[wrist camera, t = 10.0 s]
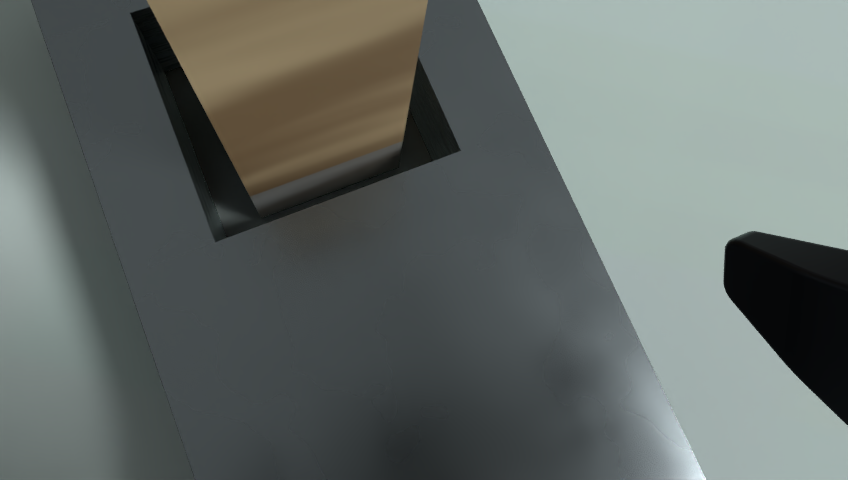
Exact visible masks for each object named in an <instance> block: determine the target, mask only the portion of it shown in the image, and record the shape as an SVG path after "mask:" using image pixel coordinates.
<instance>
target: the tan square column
mask: <svg viewBox="0 0 848 480" xmlns="http://www.w3.org/2000/svg"><path fill="white" fill-rule="evenodd" d="M147 2H148V4H149V6H150V8H151V9H152V11H153V13H154V15H155V17H156V19H157V21H158V23H159V25H160V27H161V28H162V30H163V32H164V34H165V36H166V38H167V40H168V42H169V44H170V46H171V47H172V49H173V51H174V53H175V55H176V57H177V59H178V61H179V63H180V65H181V66H182V68H183V70H184V72H185V74H186V76H187V78H188V80H189V82H190V84H191V85H192V87H193V89H194V91H195V93H196V95H197V97H198V99H199V101H200V103H201V104H202V106H203V108H204V110H205V112H206V114H207V116H208V118H209V120H210V122H211V123H212V125H213V127H214V129H215V131H216V133H217V135H218V137H219V139H220V141H221V142H222V144H223V146H224V148H225V150H226V152H227V154H228V156H229V158H230V160H231V161H232V163H233V165H234V167H235V169H236V171H237V173H238V175H239V177H240V179H241V180H242V182H243V184H244V186H245V188H246V190H247V192H248V194H249V196H250V198H251V199H252V201H253V203H254V205H255V207H256V209H257V211H258V213H259V215H260V217H261V218H263V217H266V216H268V215H271V214H274V213H277V212H279V211H282V210H285V209H287V208H290V207H293V206H295V205H298V204H301V203H303V202H306V201H309V200H312V199H314V198H317V197H320V196H322V195H325V194H328V193H330V192H333V191H336V190H339V189H341V188H344V187H347V186H349V185H352V184H355V183H357V182H360V181H363V180H365V179H368V178H371V177H374V176H376V175H379V174H382V173H384V172H387V171H390V170H392V169H395V168H398V166H399V160H400V155H401V149H402V143H403V138H404V132H405V127H406V121H407V115H408V110H409V104H410V98H411V93H412V87H413V82H414V76H415V70H416V65H417V59H418V53H419V48H420V42H421V37H422V31H423V25H424V20H425V14H426V8H427V3H428V0H147Z"/></svg>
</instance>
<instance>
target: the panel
mask: <svg viewBox="0 0 848 480" xmlns="http://www.w3.org/2000/svg"><path fill="white" fill-rule="evenodd" d="M31 1H32V4H33V7H34V10H35V13H36V16H37V19H38V22H39V25H40V28H41V31H42V34H43V36H44V39H45V42H46V45H47V48H48V51H49V54H50V57H51V60H52V63H53V66H54V69H55V71H56V74H57V77H58V80H59V83H60V86H61V89H62V92H63V95H64V98H65V101H66V104H67V107H68V109H69V112H70V115H71V118H72V121H73V124H74V127H75V130H76V133H77V136H78V139H79V142H80V145H81V147H82V150H83V153H84V156H85V159H86V162H87V165H88V168H89V171H90V174H91V177H92V180H93V183H94V185H95V188H96V191H97V194H98V197H99V200H100V203H101V206H102V209H103V212H104V215H105V218H106V221H107V223H108V226H109V229H110V232H111V235H112V238H113V241H114V244H115V247H116V250H117V253H118V256H119V258H120V261H121V264H122V267H123V270H124V273H125V276H126V279H127V282H128V285H129V288H130V291H131V294H132V296H133V299H134V302H135V305H136V308H137V311H138V314H139V317H140V320H141V323H142V326H143V329H144V332H145V334H146V337H147V340H148V343H149V346H150V349H151V352H152V355H153V358H154V361H155V364H156V367H157V370H158V372H159V375H160V378H161V381H162V384H163V387H164V390H165V393H166V396H167V399H168V402H169V405H170V408H171V410H172V413H173V416H174V419H175V422H176V425H177V428H178V431H179V434H180V437H181V440H182V443H183V445H184V448H185V451H186V454H187V457H188V460H189V463H190V466H191V469H192V472H193V475H194V478H195V480H706V478H705V476H704V474H703V472H702V470H701V468H700V466H699V464H698V461H697V459H696V457H695V455H694V453H693V451H692V449H691V447H690V445H689V443H688V440H687V438H686V436H685V434H684V432H683V430H682V428H681V426H680V424H679V422H678V420H677V417H676V415H675V413H674V411H673V409H672V407H671V405H670V403H669V401H668V399H667V396H666V394H665V392H664V390H663V388H662V386H661V384H660V382H659V380H658V378H657V376H656V373H655V371H654V369H653V367H652V365H651V363H650V361H649V359H648V357H647V355H646V353H645V350H644V348H643V346H642V344H641V342H640V340H639V338H638V336H637V334H636V332H635V329H634V327H633V325H632V323H631V321H630V319H629V317H628V315H627V313H626V311H625V309H624V306H623V304H622V302H621V300H620V298H619V296H618V294H617V292H616V290H615V288H614V285H613V283H612V281H611V279H610V277H609V275H608V273H607V271H606V269H605V267H604V265H603V262H602V260H601V258H600V256H599V254H598V252H597V250H596V248H595V246H594V244H593V242H592V239H591V237H590V235H589V233H588V231H587V229H586V227H585V225H584V223H583V221H582V218H581V216H580V214H579V212H578V210H577V208H576V206H575V204H574V202H573V200H572V198H571V195H570V193H569V191H568V189H567V187H566V185H565V183H564V181H563V179H562V177H561V174H560V172H559V170H558V168H557V166H556V164H555V162H554V160H553V158H552V156H551V154H550V151H549V149H548V147H547V145H546V143H545V141H544V139H543V137H542V135H541V133H540V131H539V128H538V126H537V124H536V122H535V120H534V118H533V116H532V114H531V112H530V110H529V107H528V105H527V103H526V101H525V99H524V97H523V95H522V93H521V91H520V89H519V87H518V84H517V82H516V80H515V78H514V76H513V74H512V72H511V70H510V68H509V66H508V63H507V61H506V59H505V57H504V55H503V53H502V51H501V49H500V47H499V45H498V43H497V40H496V38H495V36H494V34H493V32H492V30H491V28H490V26H489V24H488V22H487V20H486V17H485V15H484V13H483V11H482V9H481V7H480V5H479V3H478V1H477V0H428V3H427V8H426V14H425V20H424V25H423V31H422V37H421V42H420V48H419V53H418V59H417V65H416V70H415V76H414V82H413V87H412V93H411V98H410V104H409V109H410V111H411V113H412V115H413V118H414V120H415V122H416V124H417V127H418V129H419V131H420V133H421V136H422V138H423V140H424V142H425V145H426V147H427V149H428V152H429V154H430V156H431V158H432V162H429V163H427V164H424V165H421V166H419V167H416V168H413V169H411V170H408V171H405V172H403V173H400V174H397V175H395V176H392V177H389V178H386V179H384V180H381V181H378V182H376V183H373V184H370V185H368V186H365V187H362V188H360V189H357V190H354V191H352V192H349V193H346V194H343V195H341V196H338V197H335V198H333V199H330V200H327V201H325V202H322V203H319V204H317V205H314V206H311V207H309V208H306V209H303V210H301V211H298V212H295V213H292V214H290V215H287V216H284V217H282V218H279V219H276V220H274V221H271V222H268V223H266V224H263V225H260V226H258V227H255V228H252V229H249V230H247V231H244V232H241V233H239V234H236V235H233V236H231V237H228V238H227V237H226V234H225V232H224V229H223V226H222V224H221V221H220V218H219V216H218V213H217V210H216V208H215V205H214V202H213V200H212V197H211V194H210V192H209V189H208V186H207V184H206V181H205V178H204V176H203V173H202V170H201V168H200V165H199V162H198V160H197V157H196V154H195V152H194V149H193V146H192V144H191V141H190V138H189V135H188V133H187V130H186V127H185V125H184V122H183V119H182V117H181V114H180V111H179V109H178V106H177V103H176V101H175V98H174V95H173V93H172V90H171V87H170V85H169V82H168V79H167V77H166V74H165V72H166V71H169V70H172V69H175V68H179V67H182V66H181V65H180V63H179V61H178V59H177V57H176V55H175V53H174V51H173V49H172V47H171V46H170V44H169V42H168V40H167V38H166V36H165V34H164V32H163V30H162V28H161V27H160V25H159V23H158V21H157V19H156V17H155V15H154V13H153V11H152V9H151V8H150V6H149V4H148V2H147V0H31Z"/></svg>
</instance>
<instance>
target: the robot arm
mask: <svg viewBox="0 0 848 480" xmlns="http://www.w3.org/2000/svg"><path fill="white" fill-rule="evenodd" d="M724 287H725V290H726V293H727V294H728V296H729V298H730V299H731V300H732V301H733V303H734V304H735V305H736V306H737V307H738V308H739V310H740V311H741V312H742V313H743V314H744V316H745V317H746V318H747V319H748V320H749V321H750V323H751V324H752V325H753V326H754V327H755V329H756V330H757V331H758V332H759V333H760V334H761V336H762V337H763V338H764V339H765V340H766V342H767V343H768V344H769V345H770V346H771V347H772V349H773V350H774V351H775V352H776V353H777V355H778V356H779V357H780V358H781V359H782V360H783V362H784V363H785V364H786V365H787V366H788V367H789V368H790V369H791V370H792V371H793V373H794V374H795V375H796V376H797V377H798V378H799V379H800V380H801V381H802V382H803V383H804V384H805V385H806V386H807V387H808V388H809V389H810V390H811V391H812V392H813V393H815V394H816V395H817V396H818V397H819V398H820V399H821V400H822V401H823V402H824V403H825V404H826V405H827V406H828V407H829V408H830V409H831V410H832V411H833V412H834V413H835V414H836V415H837V416H838V417H839V418H840V419H841V420H843V421H844V422H845V423H846V424H847V425H848V250H844V249H839V248H834V247H829V246H824V245H819V244H815V243H810V242H805V241H800V240H795V239H791V238H786V237H781V236H776V235H771V234H766V233H762V232H756V231H751V232H747V233H745V234H743V235H740V236H738V237H736V238H733V239H731V240H730V241H728V243H727V245H726V246H725V259H724Z"/></svg>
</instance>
